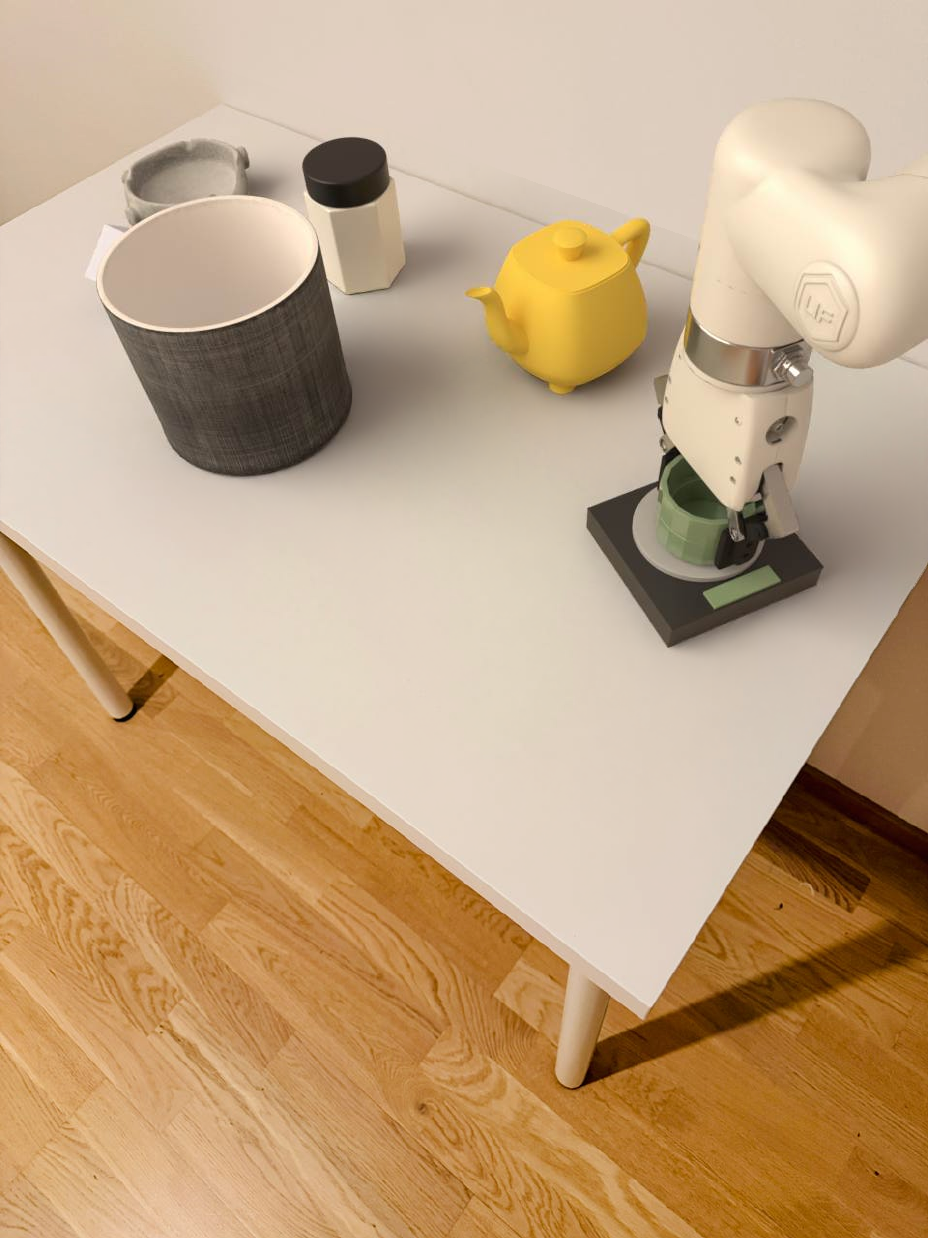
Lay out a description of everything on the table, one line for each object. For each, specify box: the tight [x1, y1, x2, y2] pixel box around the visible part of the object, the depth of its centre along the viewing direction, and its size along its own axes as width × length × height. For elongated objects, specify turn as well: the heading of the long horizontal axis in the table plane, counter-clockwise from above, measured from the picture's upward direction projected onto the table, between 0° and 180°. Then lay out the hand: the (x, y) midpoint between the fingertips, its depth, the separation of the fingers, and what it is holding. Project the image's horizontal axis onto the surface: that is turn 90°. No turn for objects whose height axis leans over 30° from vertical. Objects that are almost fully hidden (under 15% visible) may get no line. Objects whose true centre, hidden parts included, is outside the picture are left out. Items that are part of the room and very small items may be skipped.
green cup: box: [654, 454, 756, 565], centre depth 67 cm, size 7×7×5 cm
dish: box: [121, 137, 251, 228], centre depth 102 cm, size 14×14×5 cm
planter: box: [95, 195, 353, 476], centre depth 78 cm, size 18×18×16 cm
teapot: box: [464, 217, 651, 395], centre depth 81 cm, size 13×20×12 cm
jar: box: [301, 136, 407, 295], centre depth 91 cm, size 9×8×12 cm
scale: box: [585, 480, 825, 648], centre depth 71 cm, size 13×13×3 cm
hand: (704, 521), depth 68 cm, fingers closed on green cup, 7 cm apart
